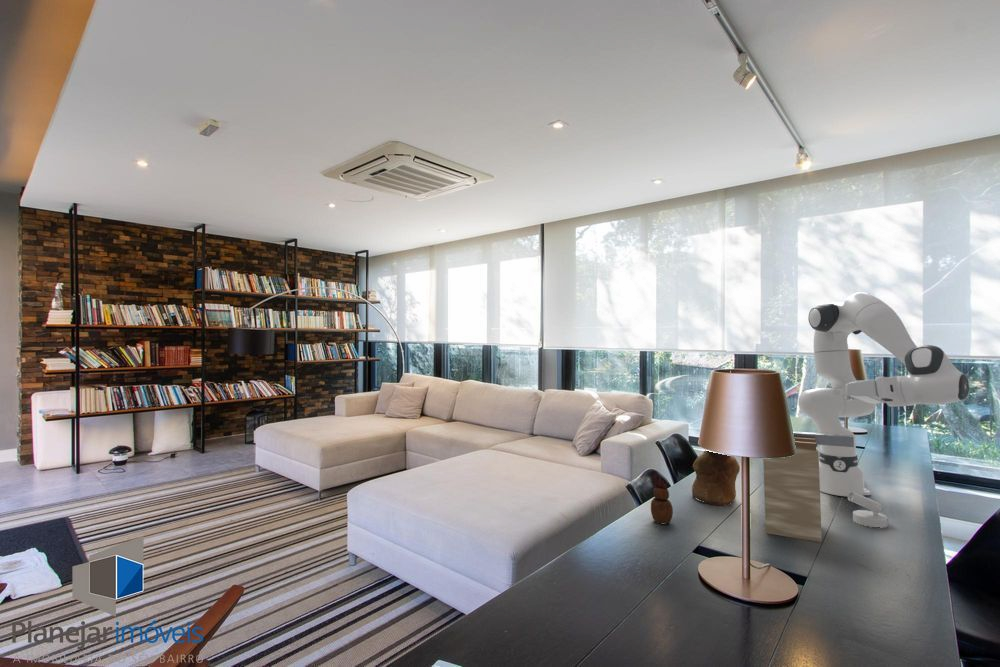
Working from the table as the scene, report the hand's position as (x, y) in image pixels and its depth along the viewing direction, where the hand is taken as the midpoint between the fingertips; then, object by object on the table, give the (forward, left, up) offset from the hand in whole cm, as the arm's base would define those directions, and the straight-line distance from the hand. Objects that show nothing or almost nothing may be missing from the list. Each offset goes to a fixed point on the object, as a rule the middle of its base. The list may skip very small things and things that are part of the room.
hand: (840, 395), depth 154 cm
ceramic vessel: (+1, -37, -40) cm, 55 cm away
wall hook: (0, +6, -40) cm, 40 cm away
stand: (+17, -14, -40) cm, 46 cm away
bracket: (+13, -8, -14) cm, 21 cm away
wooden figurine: (+30, -50, -40) cm, 71 cm away
